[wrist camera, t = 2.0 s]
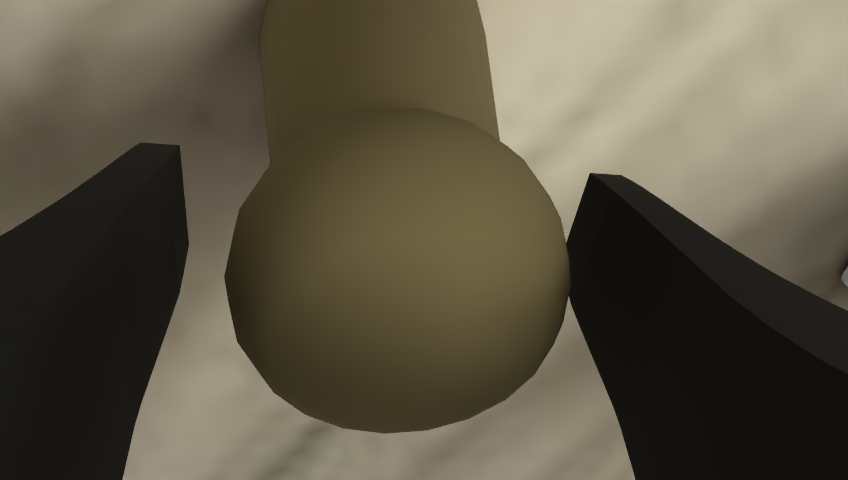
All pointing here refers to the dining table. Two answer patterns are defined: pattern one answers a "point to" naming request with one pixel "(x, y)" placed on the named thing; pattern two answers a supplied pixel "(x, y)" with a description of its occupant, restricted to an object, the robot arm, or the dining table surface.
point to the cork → (391, 222)
